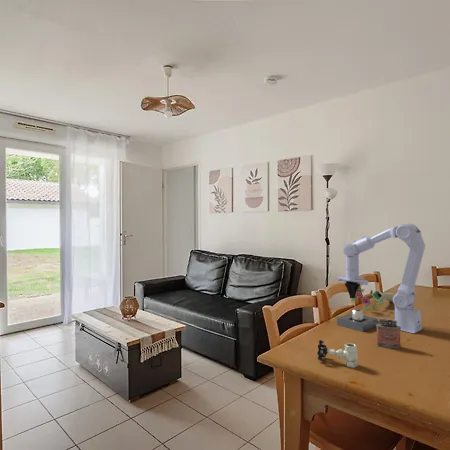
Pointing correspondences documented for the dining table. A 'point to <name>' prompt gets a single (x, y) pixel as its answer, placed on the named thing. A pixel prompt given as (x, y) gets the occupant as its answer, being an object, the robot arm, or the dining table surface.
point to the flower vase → (377, 295)
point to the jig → (360, 326)
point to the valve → (340, 353)
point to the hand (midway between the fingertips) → (352, 298)
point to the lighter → (388, 333)
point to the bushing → (357, 315)
